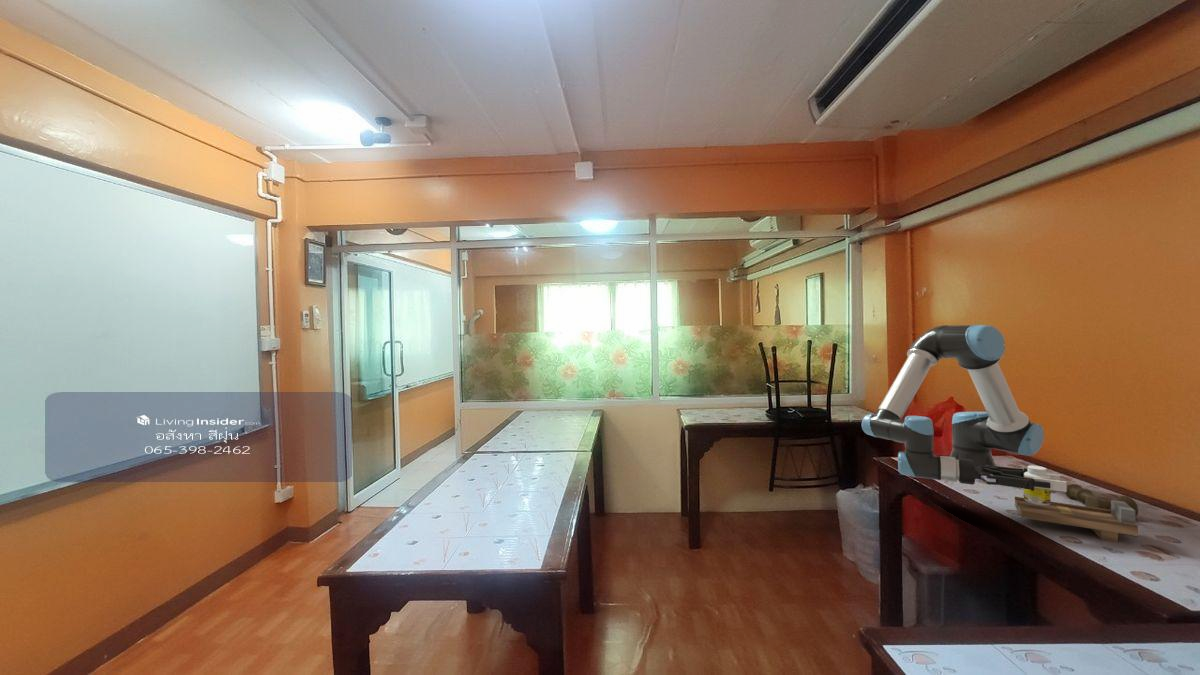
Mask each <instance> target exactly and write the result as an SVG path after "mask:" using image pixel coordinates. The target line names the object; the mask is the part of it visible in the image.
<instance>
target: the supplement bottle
mask: <svg viewBox="0 0 1200 675" xmlns="http://www.w3.org/2000/svg"><path fill="white" fill-rule="evenodd" d="M1027 470H1028V472H1025V473H1024V477H1026V478H1032V479H1033V477H1034V478H1042V479H1050V480H1051V478H1050V476H1049V475H1047V474H1048V470H1047V468H1046V467H1044V466H1040V465H1034V464H1033V465H1032V464H1031V465H1028V466H1027ZM1026 484H1027V483H1026ZM1051 492H1052V490H1048V489H1040V488H1034V491H1031V490H1029V489H1023V498H1024V500H1025V501H1027V502H1029V503H1032V504H1036V505H1043V506H1046V505H1050V503H1051V502H1052V499H1051V496H1052V494H1051Z"/></svg>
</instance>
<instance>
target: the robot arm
mask: <svg viewBox="0 0 1200 675" xmlns="http://www.w3.org/2000/svg"><path fill="white" fill-rule="evenodd" d="M1002 334H1003V333H1001V331H1000V330H999V329H998V328H996V327H994V326H993V325H989V324H987V325H986V324H979V323H977V324H972V325H959V324H958V325H949V324H948V325H945V324H944V325H938V326H935V327H933V328H929V329H928V330H927V331H925V332H923V333H922V334H921V335H919V337H918V338H916V339H915V340H914V342H912V344H911V345H910V347H909V348H908V350H907V352H906V356H907V358H906V360H905V361H904V363H903V365H902V366H901V368H900V370H899V372H898V374H897V376H896V378H895V379H894V380H893V382H892V384H891V386H890V388H889V389H888V391H887V392H886V395H885V396H884V398H883V400H882V402H881V403H880V405H879V407H878V408H877V410H876V412H875V413H874V414H873V413H871V414H866V415H865V416H864V417H863V418H862V420H861V429H862V431H863V432H864V434H866V435H868V436H871V437H874V438H877V439H883V440H889V441H893V442H896V443H900V444H901V443H902V444H904V451H898V453H897V467H898V468H897V470H898V472H899V474H900V475H902V476H908V477H912V478H913V477H914V478H919V479H927V480H935V481H942V482H944V483H946V484H948V483H949V482H951V483H957V481H958V482H959V484H963V485H964V484H965V485H971V486H973V485H975V484H976V480H979V481H980V480H981V481H983V482H985V483H986V484H987V485H995V486H1003V487H1011V488H1017V489H1023V490H1024V489H1029V490H1031V491H1034V488H1040V489H1048V490H1051V491H1057V492H1064V493H1065V492H1067V486H1068V484H1067V483H1068V482H1067V481H1064V480H1061V475H1060V474H1055V473H1047V475H1049V476H1050V478H1051V480H1050V479H1042V478H1034V477H1033V479H1032V478H1026V477H1024V473H1025V472H1028V470H1027V469H1028V467H1027V468H1026V467H1023V468H1018V467H1016V468H1015V467H1009V466H1008V467H1007V466H1001V465H1000V466H998V465H997V464H996V461H995V459H994V457H993V455H992V450H998V451H1003V452H1007V453H1011V454H1016V455H1018V456H1020V455H1022V456H1028V457H1029V456H1034V455H1036V454H1038V452H1039V451H1040V450H1041V447H1042V445H1043V442H1044V438H1045V437H1044V436H1045V434H1044V432H1045V431H1044V427H1043V426H1042V425H1041V424H1039V423H1037V422H1031V420H1030V418H1029V416H1028V415H1027V414H1026V413H1025V412H1023V411H1021V410H1020V409H1019V407H1018V404H1017V403H1016V400H1015V397H1014V396H1013V393H1012V391H1011V388H1010V386H1009V384H1008V383H1007V379H1006V377H1005V375H1004V373H1003V370H1002V369H1001V366H1000V364H999V362H1000V361H1001V359H1002V357H1003V356H1004V354H1005V352H1006V351H1005V350H1006V346H1005V344H1006V343H1005V339H1004V336H1003V335H1002ZM942 359H956V361H957V364H958V366H960V368H962V369H963V370H967V372H968V374H969V376H970V378H971V381H972V383H973V385H974V387H975V390H976V391H977V394H978V396H979V398H980V400H981V402H982V404H983V406H984V409H985V411H959V412H955V413H953V415H952V419H951V420H952V421H951V428H952V429H951V430H952V450H951V452H950V455H949V456H945V455H935V454H934V434H935V432H934V425H933V420H932V419H931V418H930V417H927V416H920V415H907V416H905V418H904V420H903V417H904V415H905V413H906V412H907V410H908V408H909V406H910V404H911V402H913V399H914V397H915V396H916V394H917V392H918V390H919V389H920V387H921V385H922V383H923V381H924V380H925V378H926V376H927V374H928V372H929V371H930V369H931V367H934V366H936V365H937V364H938V362H939V360H942ZM1026 483H1027V484H1026Z"/></svg>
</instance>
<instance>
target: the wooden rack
mask: <svg viewBox="0 0 1200 675" xmlns="http://www.w3.org/2000/svg"><path fill="white" fill-rule="evenodd" d="M1110 500H1111V510H1107V509H1100V508H1093V507H1086V505H1078V504H1071V503H1070V504H1069V503H1065V502H1064V503H1063V502H1055V501H1051V503H1050V505H1046V506H1043V505H1036V504H1032V503H1029V502H1027V501H1025V500H1024V497H1020V496H1014V507H1015V509H1016V510H1017V513H1018V514H1019V515H1020V517H1021V518H1022V519H1029V520H1034V521H1042V522H1048V523H1052V524H1053V523H1054V524H1059V525H1067V526H1072V527H1073V526H1074V527H1078V528H1079V527H1080V528H1084V529H1091V531H1093V532H1094V533H1095V535H1097V536H1098V538H1099V539H1100V540H1102V541H1107V542H1114V543H1118V542H1119V534H1123V535H1128V536H1129V535H1130V536H1135V537H1136V536H1137V537H1138V536H1139V525H1138V524H1137V523H1136V517H1135V510H1134V509H1133V508H1131V507H1130V506H1129V505H1128V504H1127V503H1125V502H1122V501H1114V500H1115V499H1110Z"/></svg>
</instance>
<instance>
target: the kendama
mask: <svg viewBox="0 0 1200 675" xmlns="http://www.w3.org/2000/svg"><path fill="white" fill-rule="evenodd" d="M1064 495H1065V496H1066V498H1069V499H1071V500H1077V501H1078V502H1081V503H1084V505H1085V506H1086V507H1093V508H1100V509H1107V510H1111V500H1112V499H1104V498H1099V497H1097V496H1096V495H1094V493H1093V491H1091V490H1090V489H1086V488H1083V487H1082V485H1079V484H1077V483H1076V484H1075V483H1071V484H1070V483H1069V484H1067V492H1064ZM1113 500H1114V501H1122V502H1125V503H1127V504H1128V505H1129V506H1130V507H1131V508H1133V509H1134V510H1135V518H1136V517H1137V516H1138V515H1139V508H1138V504H1137V502H1136V501H1135V499H1133V498H1132V497H1130V496H1128V495H1119V496H1118V497H1117V498H1115V499H1113Z"/></svg>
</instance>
